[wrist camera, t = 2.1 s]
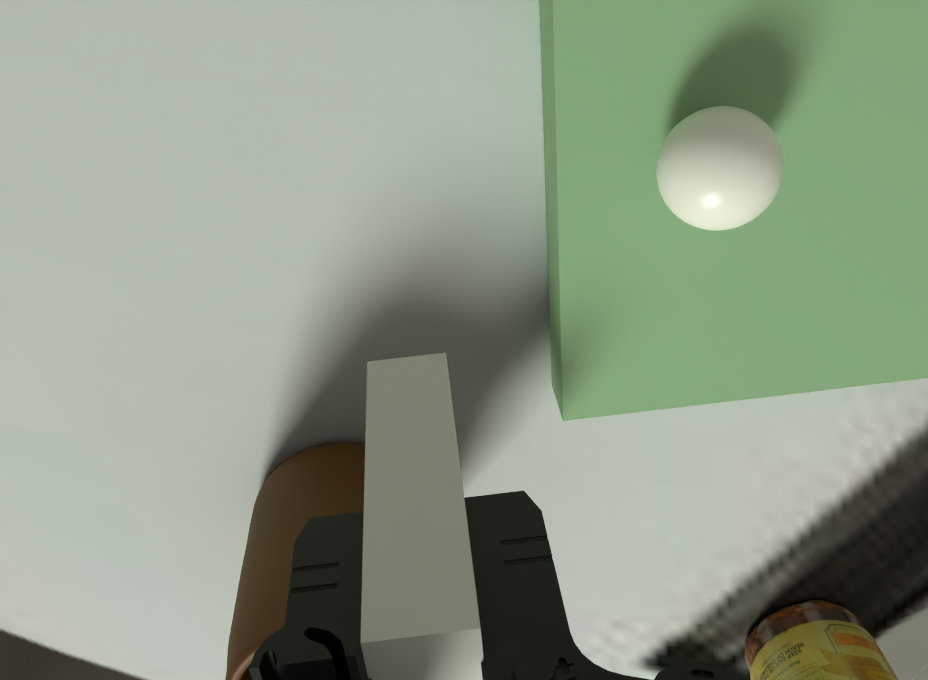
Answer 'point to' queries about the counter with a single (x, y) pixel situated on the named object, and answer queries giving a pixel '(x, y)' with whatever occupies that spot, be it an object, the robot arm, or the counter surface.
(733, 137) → the ball
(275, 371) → the counter surface
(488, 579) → the robot arm
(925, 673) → the paper towel holder
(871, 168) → the green
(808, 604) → the sauce bottle
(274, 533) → the mug
